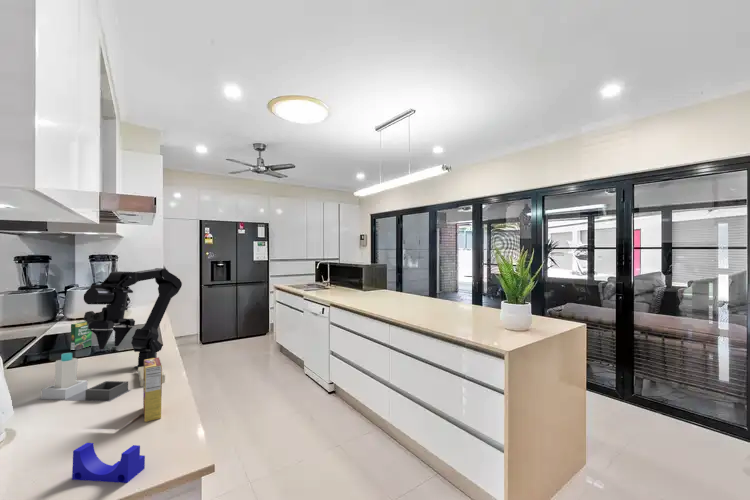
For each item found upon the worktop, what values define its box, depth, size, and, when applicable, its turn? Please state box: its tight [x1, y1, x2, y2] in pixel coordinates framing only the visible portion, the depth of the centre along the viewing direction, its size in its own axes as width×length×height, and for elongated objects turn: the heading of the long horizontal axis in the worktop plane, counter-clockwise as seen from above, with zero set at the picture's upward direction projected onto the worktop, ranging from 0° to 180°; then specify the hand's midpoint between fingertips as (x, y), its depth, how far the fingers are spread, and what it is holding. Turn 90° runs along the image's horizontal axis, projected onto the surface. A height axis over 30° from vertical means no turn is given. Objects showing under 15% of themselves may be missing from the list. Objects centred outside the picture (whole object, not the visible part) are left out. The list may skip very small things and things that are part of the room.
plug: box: [54, 352, 79, 389], centre depth 106 cm, size 4×4×13 cm
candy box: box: [142, 357, 163, 423], centre depth 95 cm, size 9×4×15 cm, turn 37°
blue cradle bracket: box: [71, 442, 146, 484], centre depth 69 cm, size 12×4×6 cm, turn 87°
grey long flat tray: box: [36, 379, 132, 403], centre depth 105 cm, size 9×23×4 cm, turn 89°
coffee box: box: [69, 320, 93, 351], centre depth 159 cm, size 8×3×13 cm, turn 169°
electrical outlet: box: [137, 366, 166, 388], centre depth 122 cm, size 7×4×18 cm
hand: (109, 347), depth 119 cm, fingers open, 9 cm apart
